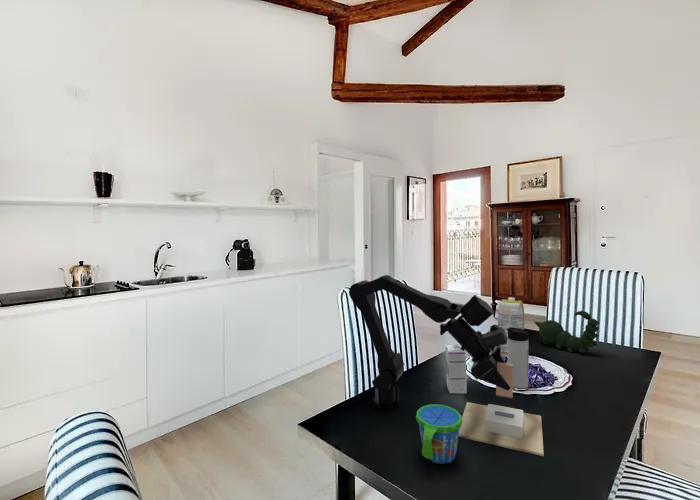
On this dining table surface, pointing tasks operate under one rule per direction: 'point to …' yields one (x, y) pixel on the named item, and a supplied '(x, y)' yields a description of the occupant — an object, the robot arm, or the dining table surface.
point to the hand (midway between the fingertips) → (510, 381)
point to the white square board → (504, 420)
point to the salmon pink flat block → (507, 374)
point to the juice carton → (510, 318)
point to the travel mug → (518, 356)
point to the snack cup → (439, 432)
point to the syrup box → (456, 369)
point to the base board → (476, 431)
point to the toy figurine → (556, 333)
